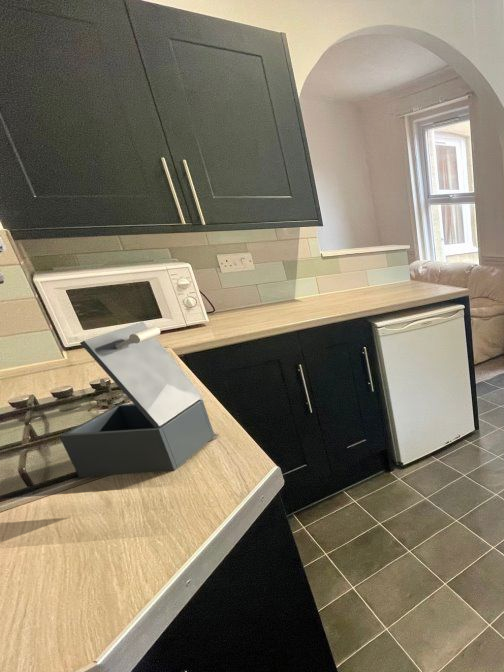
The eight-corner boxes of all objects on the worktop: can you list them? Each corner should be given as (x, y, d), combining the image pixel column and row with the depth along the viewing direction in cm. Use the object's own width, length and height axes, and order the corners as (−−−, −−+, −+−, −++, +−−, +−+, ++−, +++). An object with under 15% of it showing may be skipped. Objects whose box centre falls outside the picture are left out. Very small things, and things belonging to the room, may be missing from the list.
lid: (79, 342, 64) (108, 329, 64) (139, 323, 76) (164, 311, 75) (155, 428, 70) (182, 416, 70) (200, 398, 82) (223, 387, 81)
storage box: (83, 485, 73) (58, 436, 69) (136, 448, 84) (117, 404, 81) (177, 478, 74) (158, 429, 70) (217, 443, 86) (202, 399, 82)
